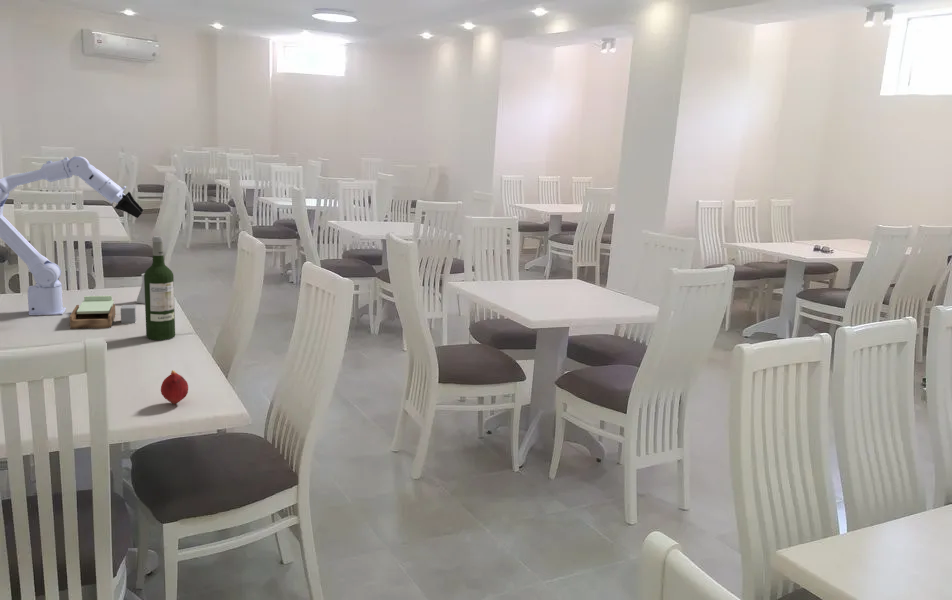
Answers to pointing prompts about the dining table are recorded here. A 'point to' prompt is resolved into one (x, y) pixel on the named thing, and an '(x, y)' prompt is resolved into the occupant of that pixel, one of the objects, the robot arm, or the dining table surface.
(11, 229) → the robot arm
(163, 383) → the onion
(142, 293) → the flask
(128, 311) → the block
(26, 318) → the dining table surface
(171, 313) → the wine bottle
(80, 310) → the sage lid
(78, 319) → the walnut box
